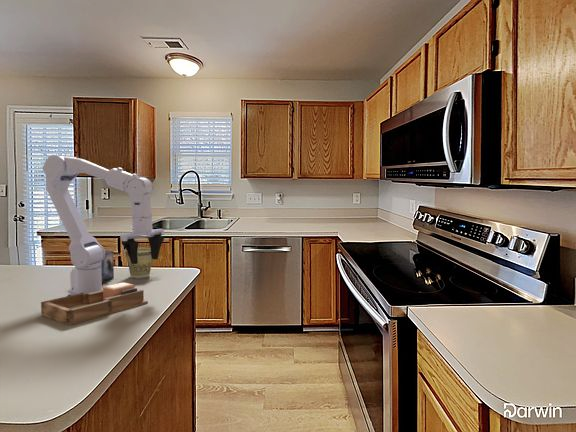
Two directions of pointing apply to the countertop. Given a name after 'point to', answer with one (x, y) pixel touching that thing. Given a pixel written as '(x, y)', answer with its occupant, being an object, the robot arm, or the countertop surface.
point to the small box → (107, 266)
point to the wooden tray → (90, 305)
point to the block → (116, 289)
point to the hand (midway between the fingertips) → (144, 261)
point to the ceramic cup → (141, 263)
